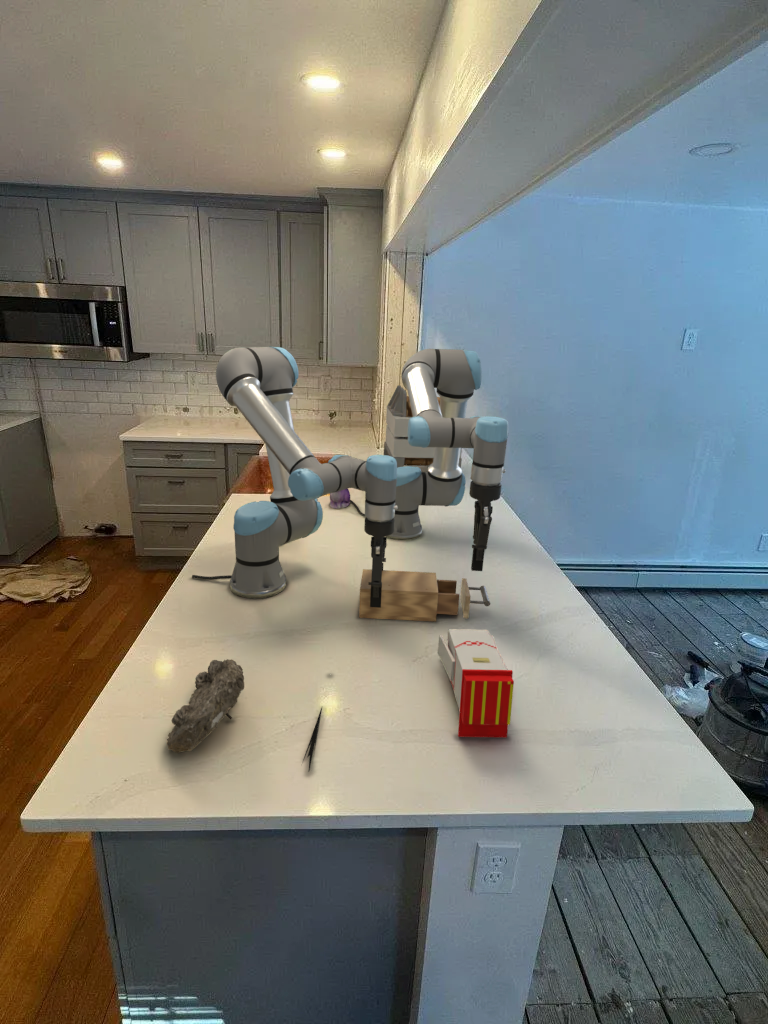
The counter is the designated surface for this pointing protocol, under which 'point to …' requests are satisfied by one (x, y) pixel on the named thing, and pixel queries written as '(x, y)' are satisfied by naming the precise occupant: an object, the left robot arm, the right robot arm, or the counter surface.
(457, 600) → the drawer
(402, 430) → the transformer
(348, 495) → the figurine
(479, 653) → the toy
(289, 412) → the left robot arm
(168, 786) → the counter surface
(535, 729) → the counter surface
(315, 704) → the counter surface
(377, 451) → the counter surface
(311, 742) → the feather
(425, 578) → the wooden drawer box
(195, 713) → the fossil
